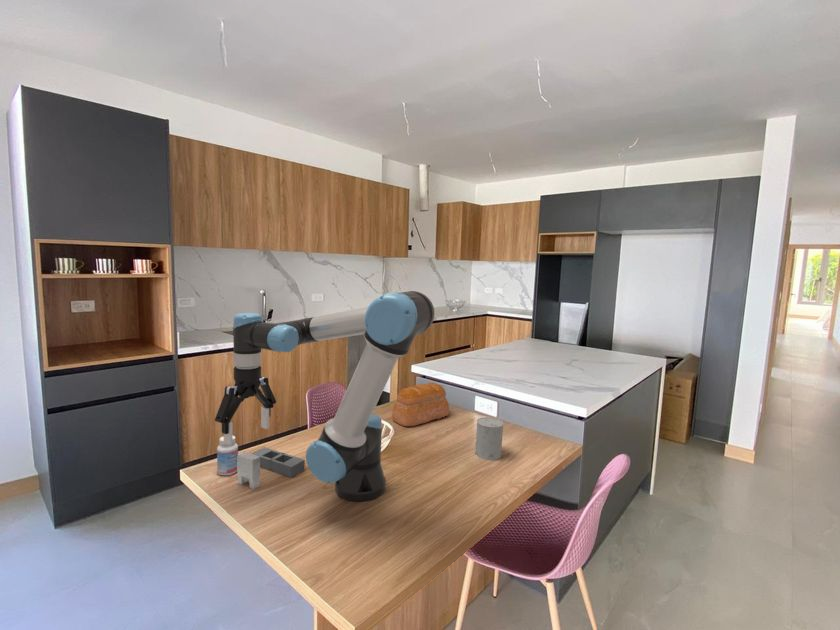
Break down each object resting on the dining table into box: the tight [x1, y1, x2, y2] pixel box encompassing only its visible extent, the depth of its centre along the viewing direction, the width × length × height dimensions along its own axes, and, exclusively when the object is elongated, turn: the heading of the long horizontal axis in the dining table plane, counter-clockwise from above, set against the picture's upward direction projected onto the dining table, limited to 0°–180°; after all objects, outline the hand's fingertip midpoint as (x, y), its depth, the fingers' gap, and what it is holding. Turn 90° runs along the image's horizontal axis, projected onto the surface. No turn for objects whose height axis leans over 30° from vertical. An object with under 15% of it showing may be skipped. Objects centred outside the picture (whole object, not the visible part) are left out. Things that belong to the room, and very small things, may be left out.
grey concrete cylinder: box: [474, 416, 504, 461], centre depth 154 cm, size 10×10×12 cm
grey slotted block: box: [250, 446, 306, 478], centre depth 139 cm, size 18×6×4 cm, turn 63°
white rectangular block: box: [236, 451, 261, 490], centre depth 127 cm, size 7×3×9 cm, turn 63°
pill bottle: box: [216, 435, 239, 476], centre depth 134 cm, size 6×6×11 cm
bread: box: [391, 382, 450, 427], centre depth 188 cm, size 14×26×15 cm, turn 131°
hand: (247, 435), depth 126 cm, fingers open, 13 cm apart
